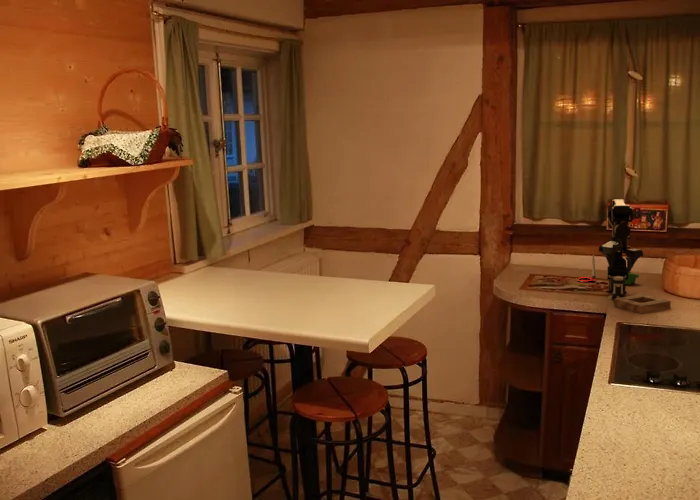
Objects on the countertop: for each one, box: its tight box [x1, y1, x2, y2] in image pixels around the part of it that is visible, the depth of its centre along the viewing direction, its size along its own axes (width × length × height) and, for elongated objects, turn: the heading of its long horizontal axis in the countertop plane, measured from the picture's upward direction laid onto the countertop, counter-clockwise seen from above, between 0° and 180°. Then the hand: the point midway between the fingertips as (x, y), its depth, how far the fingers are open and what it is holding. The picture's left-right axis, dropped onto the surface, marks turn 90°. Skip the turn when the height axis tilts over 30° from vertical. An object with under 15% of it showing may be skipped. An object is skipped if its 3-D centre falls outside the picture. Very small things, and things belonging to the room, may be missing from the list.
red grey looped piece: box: [578, 254, 597, 283], centre depth 322 cm, size 8×13×9 cm
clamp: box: [625, 271, 640, 286], centre depth 315 cm, size 12×6×9 cm, turn 3°
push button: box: [607, 276, 625, 301], centre depth 284 cm, size 7×5×10 cm
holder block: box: [613, 293, 672, 314], centre depth 272 cm, size 14×16×3 cm
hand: (619, 270), depth 282 cm, fingers open, 9 cm apart
